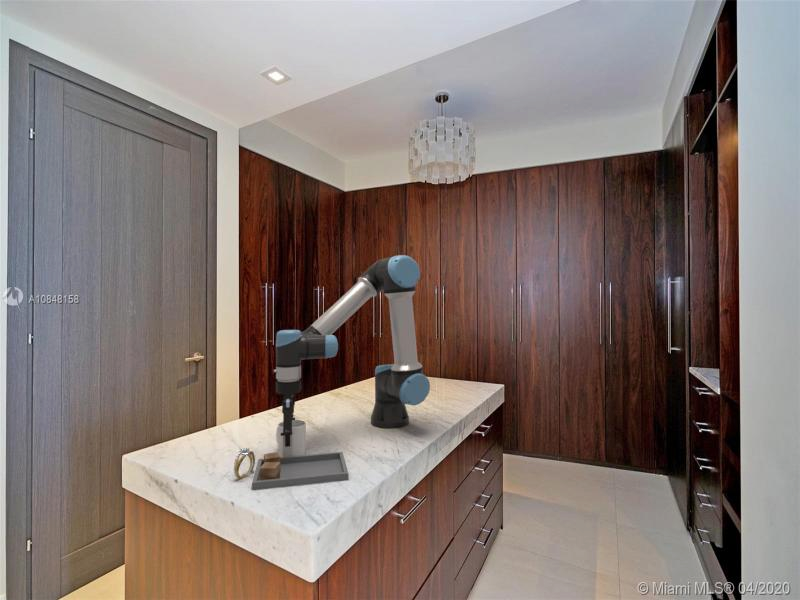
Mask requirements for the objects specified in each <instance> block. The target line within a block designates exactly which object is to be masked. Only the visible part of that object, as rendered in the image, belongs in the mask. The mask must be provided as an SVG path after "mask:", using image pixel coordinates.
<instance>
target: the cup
mask: <svg viewBox="0 0 800 600" xmlns="http://www.w3.org/2000/svg"><path fill="white" fill-rule="evenodd" d="M285 431H290V430H285ZM281 433H283V421H282V422H279V423H278V424H277V427H276V433H275V437H276V442H277V443H276V444H277V452H279V454H280V457H283V436H281ZM306 451H307V422H306V421H305V420H300V419H295V420H292V456H299V455H307V454H306V453H307V452H306Z"/></svg>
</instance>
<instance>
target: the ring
mask: <svg viewBox="0 0 800 600" xmlns="http://www.w3.org/2000/svg"><path fill="white" fill-rule="evenodd" d="M246 456H247V457H248V458H249V461H250V462H249V463H250V464H249V469H248V471H247V472H246V473H245V474H244V473H243V475H240V473H239V471H240V467H241V464H242V463H243V461H244V459H245V458H246ZM255 463H256V456H255V453H254V451H252V450H251V449H250V447H248V448H247V447H246V448H245V447H244V448H241V449H240V450H239V451H238V452H237V454H236V456H235V459H234V464H233V475H234V477H236V478H237V479H239V480H241V479H243V478H245V477H247V476H249V475H250V474H252V472H253V470H254V467H255V466H256V465H255Z"/></svg>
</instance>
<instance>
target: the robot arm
mask: <svg viewBox="0 0 800 600" xmlns="http://www.w3.org/2000/svg"><path fill="white" fill-rule="evenodd" d="M420 278H421V271H420V267H419V265H418V263H417V262H416V260H415V259H414V258H412V257H411V256H409V255H404V254H403V255H399V254H398V255H394V256H390V257H384V258H381V259H378V260H377V261H375V262H374V263H373V264H372V265H371V266H370V267H368V268H367V269H366V270H365V271H364V272H363V273H362V274H361V275H360V276H358V277H357V282H356V283H355V284H354V285H353V286H352V287H351V288H350V289H349V290H348V291H347V292H346V293H344V294H343V295H342V296H341V297H340V298H339V299H338V300H337V301H336V302H334V304H333V305H332V306H330V307H329V308H328V309H327V310H326V311H325V312H323V314H322V315H320V316H319V317H318V318H317V319H316V320H314V322H313V323H312V324H310V325H309V326H308V327H307V328H306V329H305V330H303V331H301V330H299V329H283V330H278V331H277V332H276V337H275V338H276V340H275V368H276V369H273V372H274V373H276V374H275V379H276V381H275V393H276V394H278V395H284V396H283V397H281V407H282V409H281V410H282V412H281V413H282V414H283V415H282V416H283V417H282V418H283V419H282V422H283V433H281V436H283V457H287V456H292V420H296V417H294V413H295V405H296V397H295V396H294V394H298V393H300V392H301V391H302V380H301V378H302V363H301V362H302V360H304V361H305V360H315V359H328V358H329V359H330V358H334V357H336V356H337V353H338V351H339V343H338V339H337V337H336V335H333V334H334V333H335V332H336V331H337V330H338V329H339V328H340V327H341V326H343V324H344V323H346V321H348V320H349V318H350V317H352V316H353V315H354V314H355V313H356V312H357V311H358V310H359V309H360V308H361V307H362V306H363V305H365V304H366V302H367V301H368V300H370V299H371V298H373V297H374V298H375V297H377V296H378V295H379V294H380V293H381V292H383V294H384V296H385V297H386V298H387V299H388V306H389V308H388V309H389V316H390V328H391V338H392V351H393V361H394V363H392V364H391V363H390V364H380V365H377V366H376V367H375V370H374V395H375V396H374V398H375V399H374V400H375V401H374V405H373V409H372V413H371V415H370V424H371V425H373V426H375V427H377V428H382V429H393V428H401V427H405V426H408V424H409V423H410V416H409V413H408V409H407V408H406V405H410V406H417V405H419V404H421V403H423V402H424V401H426V398H427V397H428V396H429V393H430V391H431V383H430V380H429V378H428V377H427V376H426V375H425V374H424V369H423V364H422V363H420V362H419V360H418V349H417V338H416V337H417V336H416V327H415V315H414V305H413V304H414V303H413V296H414V295H415V293H416V285H417V284H418V281H420ZM285 430H290V431H285Z"/></svg>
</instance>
